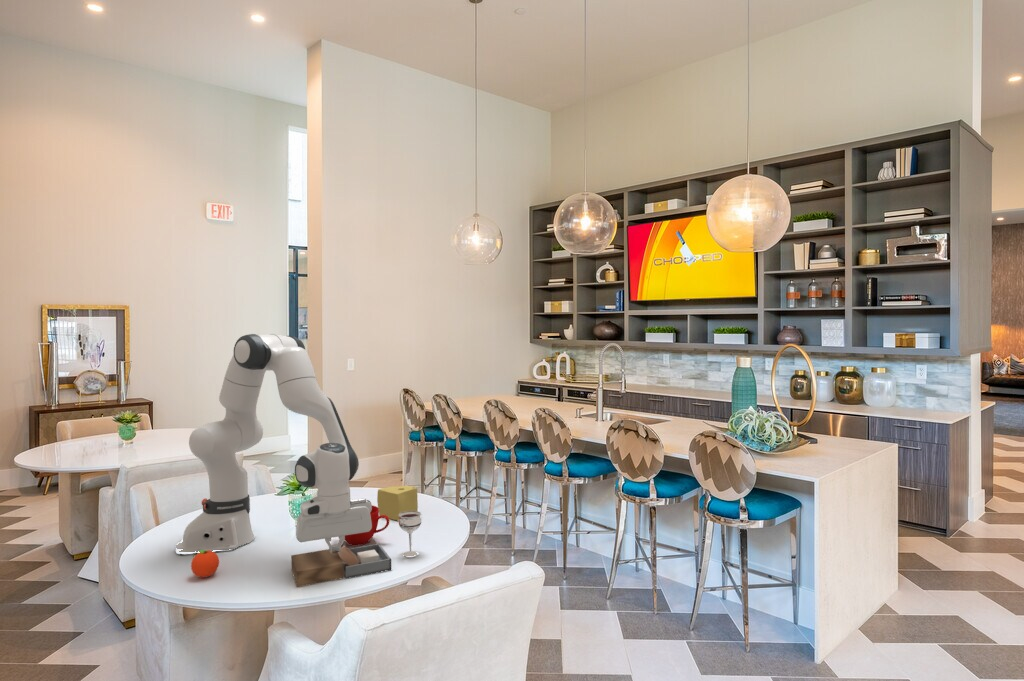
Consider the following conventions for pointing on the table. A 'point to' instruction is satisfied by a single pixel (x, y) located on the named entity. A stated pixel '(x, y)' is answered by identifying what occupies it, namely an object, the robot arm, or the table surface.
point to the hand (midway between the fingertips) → (335, 552)
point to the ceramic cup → (366, 536)
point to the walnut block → (316, 567)
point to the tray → (368, 567)
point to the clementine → (204, 563)
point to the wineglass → (409, 525)
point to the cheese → (397, 500)
